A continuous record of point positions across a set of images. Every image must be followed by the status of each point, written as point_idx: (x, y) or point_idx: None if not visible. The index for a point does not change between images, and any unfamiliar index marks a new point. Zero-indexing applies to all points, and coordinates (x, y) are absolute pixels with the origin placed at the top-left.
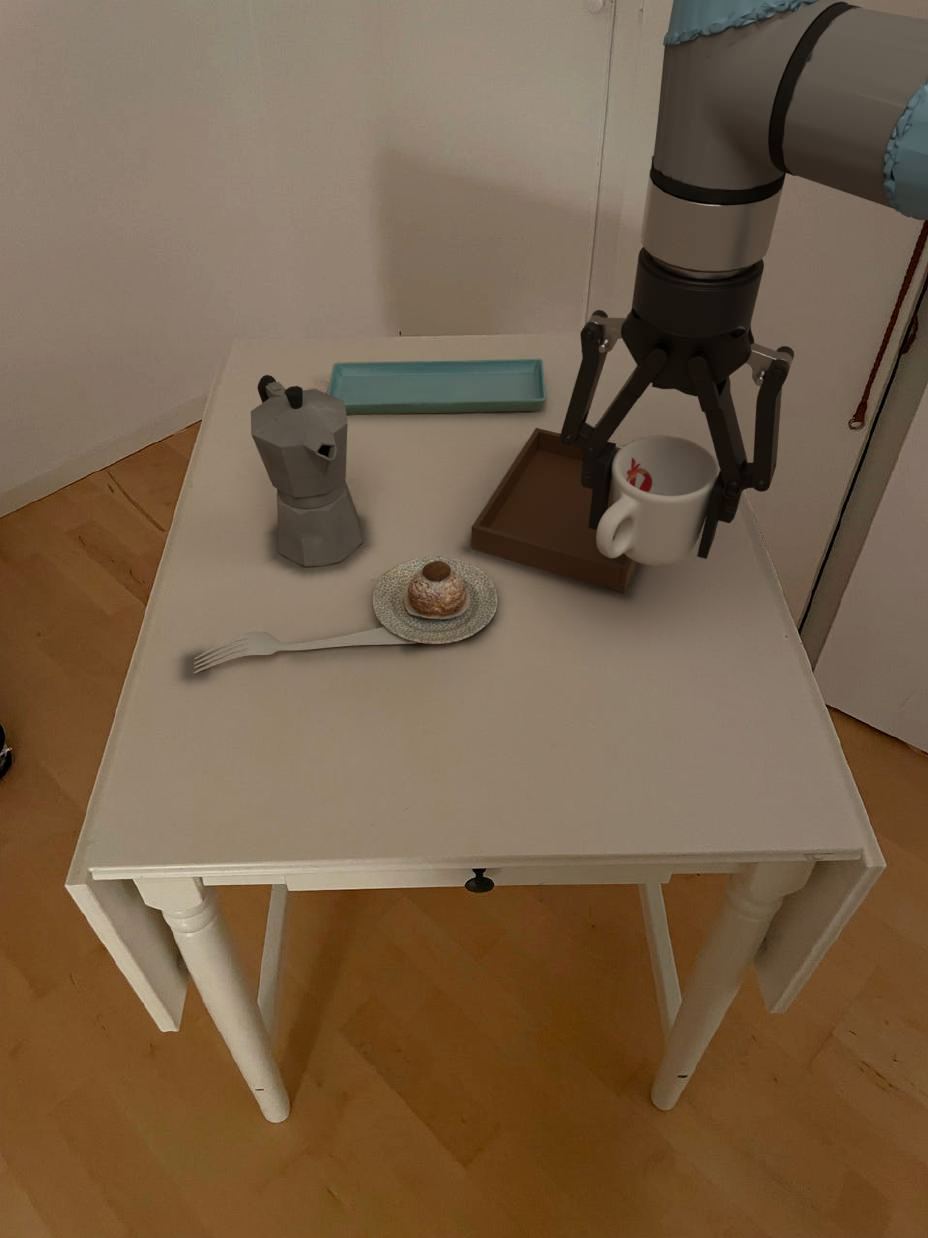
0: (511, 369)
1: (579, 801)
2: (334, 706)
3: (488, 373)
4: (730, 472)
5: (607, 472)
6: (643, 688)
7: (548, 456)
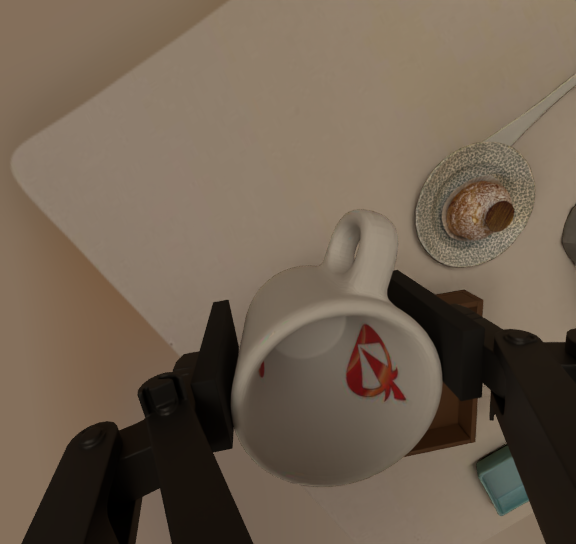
0: (518, 492)
1: (245, 60)
2: (506, 38)
3: None
4: (172, 433)
5: (437, 336)
6: (254, 221)
7: (446, 421)
